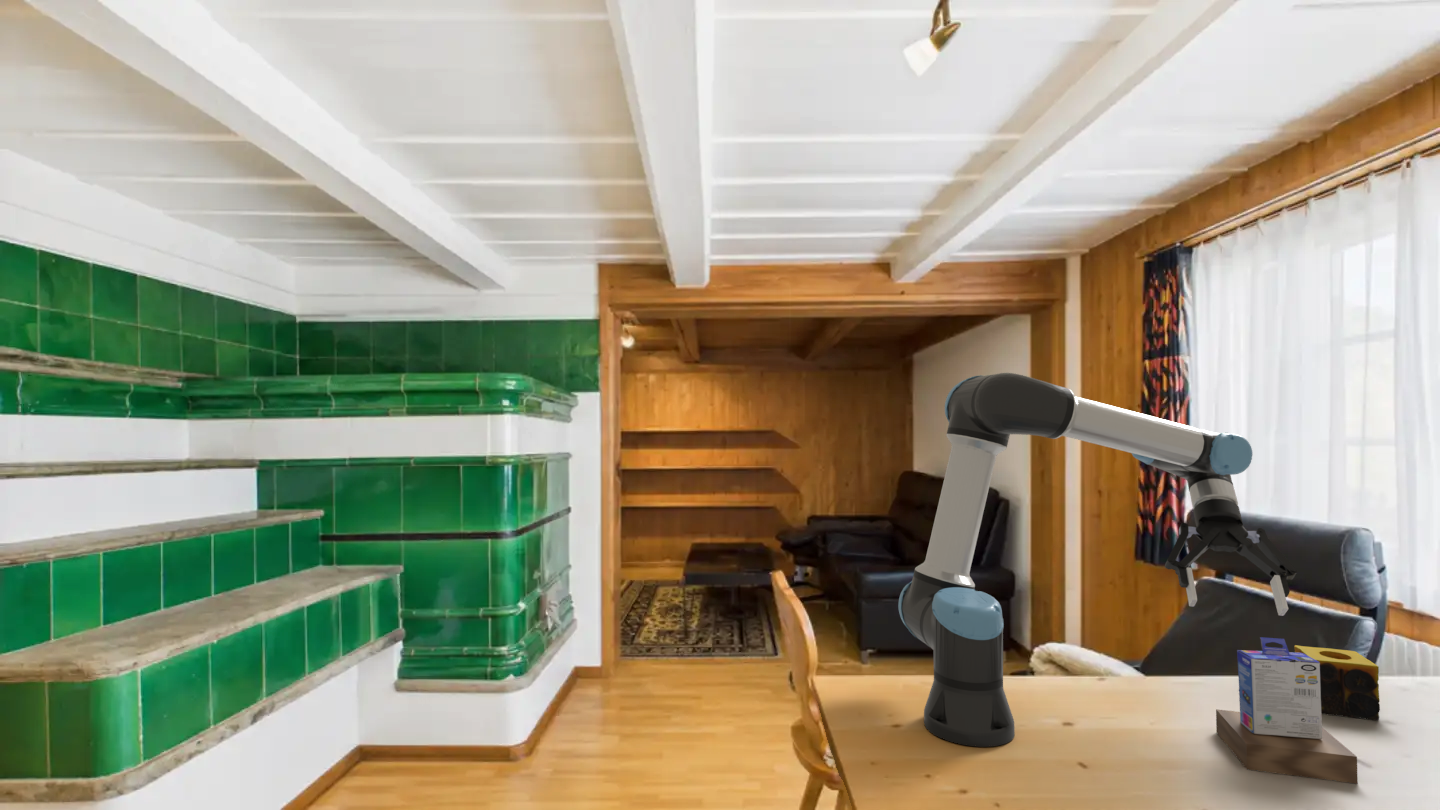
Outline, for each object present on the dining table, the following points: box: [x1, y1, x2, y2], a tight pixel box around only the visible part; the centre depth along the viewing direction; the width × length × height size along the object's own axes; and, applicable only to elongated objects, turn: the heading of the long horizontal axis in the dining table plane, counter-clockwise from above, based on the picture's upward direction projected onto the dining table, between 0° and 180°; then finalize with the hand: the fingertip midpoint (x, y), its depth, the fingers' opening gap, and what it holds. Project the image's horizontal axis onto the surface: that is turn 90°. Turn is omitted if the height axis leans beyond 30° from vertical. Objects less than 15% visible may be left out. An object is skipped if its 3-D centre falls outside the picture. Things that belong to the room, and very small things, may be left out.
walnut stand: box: [1215, 708, 1359, 785], centre depth 116 cm, size 14×14×4 cm
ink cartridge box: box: [1236, 636, 1323, 739], centre depth 116 cm, size 10×6×14 cm, turn 78°
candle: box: [1293, 644, 1381, 721], centre depth 136 cm, size 10×10×10 cm
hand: (1237, 607), depth 128 cm, fingers open, 13 cm apart
